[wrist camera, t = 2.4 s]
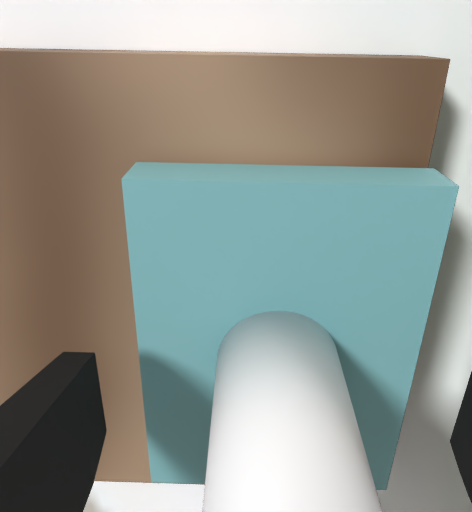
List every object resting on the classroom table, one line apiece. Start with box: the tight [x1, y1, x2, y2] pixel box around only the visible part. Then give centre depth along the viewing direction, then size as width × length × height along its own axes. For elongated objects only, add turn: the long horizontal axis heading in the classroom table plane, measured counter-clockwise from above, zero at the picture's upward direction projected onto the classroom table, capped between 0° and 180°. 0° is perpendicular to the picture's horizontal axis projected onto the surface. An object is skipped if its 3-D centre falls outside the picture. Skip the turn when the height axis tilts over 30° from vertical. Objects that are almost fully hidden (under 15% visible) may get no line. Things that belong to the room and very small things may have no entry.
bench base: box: [0, 48, 450, 484], centre depth 10 cm, size 18×12×6 cm, turn 89°
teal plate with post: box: [121, 162, 459, 512], centre depth 8 cm, size 6×8×7 cm
